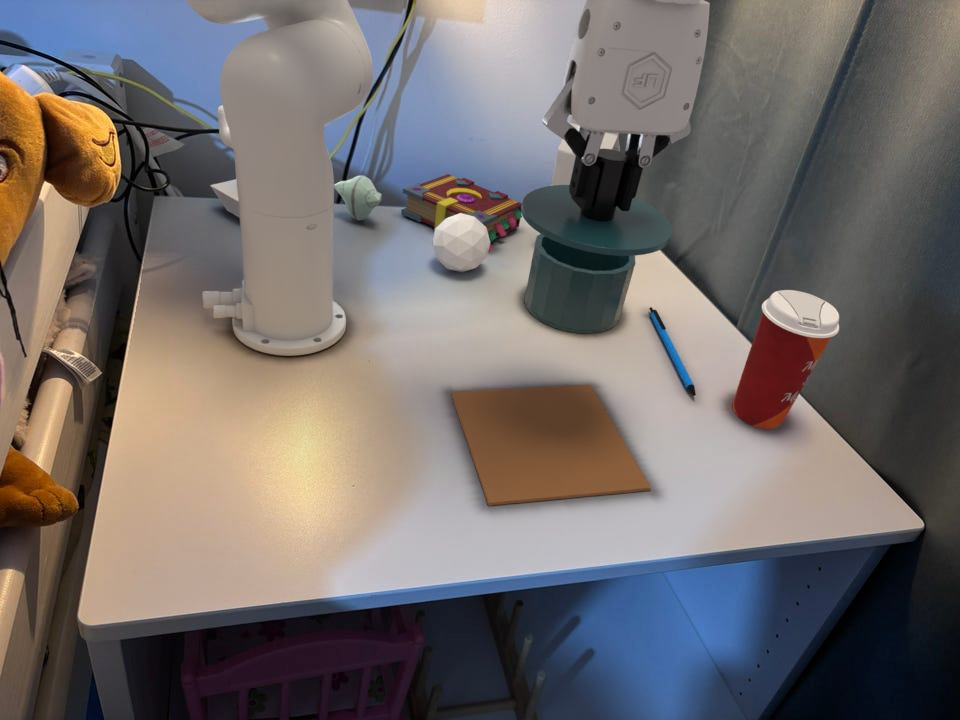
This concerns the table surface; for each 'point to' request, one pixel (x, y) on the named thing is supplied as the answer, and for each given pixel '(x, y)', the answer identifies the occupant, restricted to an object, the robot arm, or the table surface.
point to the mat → (545, 444)
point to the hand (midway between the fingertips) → (599, 202)
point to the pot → (576, 287)
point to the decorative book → (462, 204)
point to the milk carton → (567, 157)
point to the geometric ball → (461, 242)
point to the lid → (598, 215)
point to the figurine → (229, 188)
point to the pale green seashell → (359, 196)
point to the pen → (672, 351)
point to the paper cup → (783, 355)
